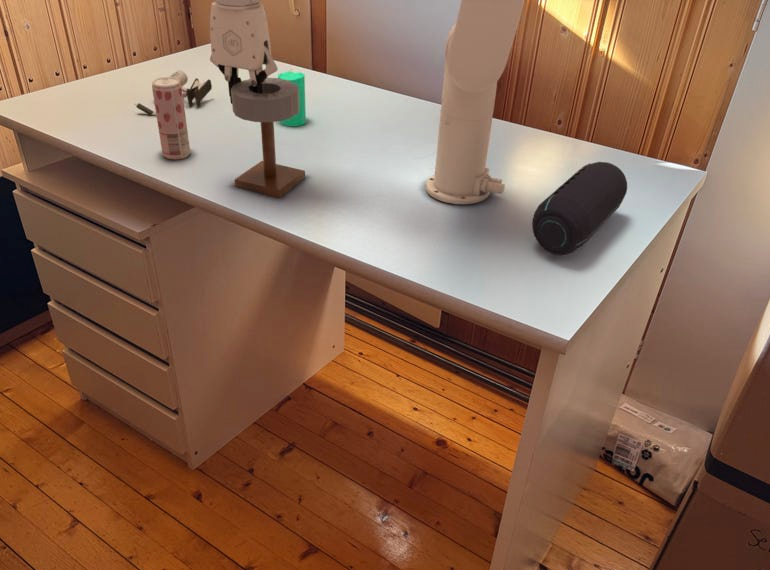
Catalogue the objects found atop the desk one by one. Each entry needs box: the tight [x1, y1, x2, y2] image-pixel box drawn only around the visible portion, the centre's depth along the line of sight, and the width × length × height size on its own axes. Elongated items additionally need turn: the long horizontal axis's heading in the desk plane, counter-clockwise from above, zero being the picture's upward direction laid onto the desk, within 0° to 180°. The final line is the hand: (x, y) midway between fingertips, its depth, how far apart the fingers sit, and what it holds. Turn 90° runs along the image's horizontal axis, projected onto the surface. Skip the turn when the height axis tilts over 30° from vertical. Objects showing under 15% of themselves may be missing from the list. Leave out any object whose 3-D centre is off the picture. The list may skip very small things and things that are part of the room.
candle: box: [277, 70, 307, 127], centre depth 161 cm, size 6×6×12 cm
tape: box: [231, 77, 300, 123], centre depth 130 cm, size 12×12×4 cm
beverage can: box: [151, 76, 191, 160], centre depth 144 cm, size 6×6×15 cm
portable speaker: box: [531, 161, 628, 256], centre depth 125 cm, size 25×10×10 cm, turn 145°
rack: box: [234, 122, 306, 198], centre depth 136 cm, size 10×10×14 cm
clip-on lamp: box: [133, 69, 213, 116], centre depth 169 cm, size 12×6×18 cm
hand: (246, 102), depth 132 cm, fingers closed on tape, 3 cm apart
